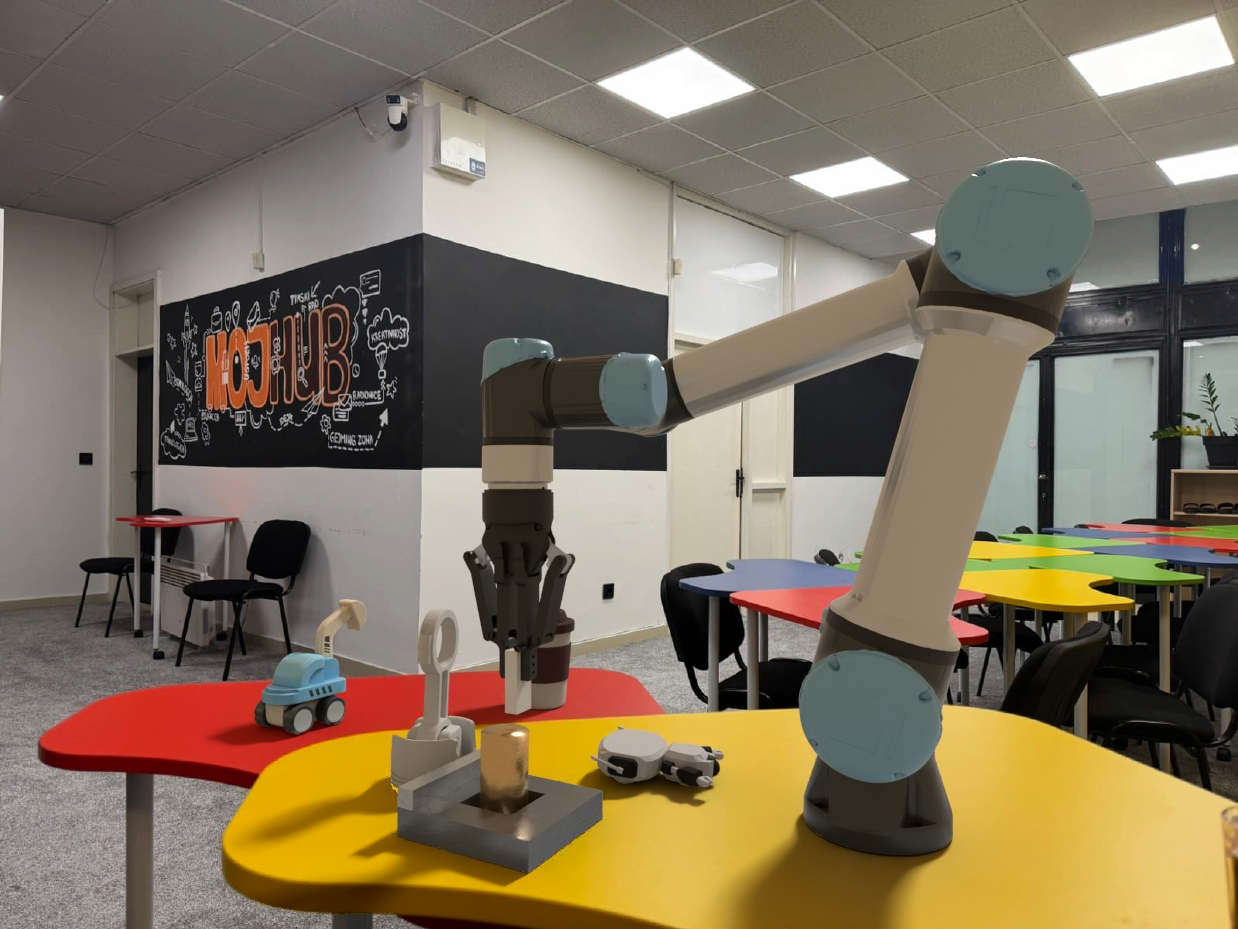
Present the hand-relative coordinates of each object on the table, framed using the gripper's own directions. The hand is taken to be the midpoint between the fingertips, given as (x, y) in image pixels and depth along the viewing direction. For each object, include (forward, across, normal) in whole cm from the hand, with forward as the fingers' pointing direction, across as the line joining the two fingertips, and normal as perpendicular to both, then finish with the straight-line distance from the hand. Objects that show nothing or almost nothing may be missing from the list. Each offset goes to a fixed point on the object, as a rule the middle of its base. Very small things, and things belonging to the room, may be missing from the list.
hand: (518, 710), depth 88 cm
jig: (+12, +1, +2) cm, 12 cm away
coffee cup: (+12, +22, -40) cm, 47 cm away
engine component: (+12, +16, -6) cm, 21 cm away
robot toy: (+13, -7, -19) cm, 24 cm away
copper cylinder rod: (+12, +1, +1) cm, 12 cm away
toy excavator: (+12, +47, -16) cm, 51 cm away
